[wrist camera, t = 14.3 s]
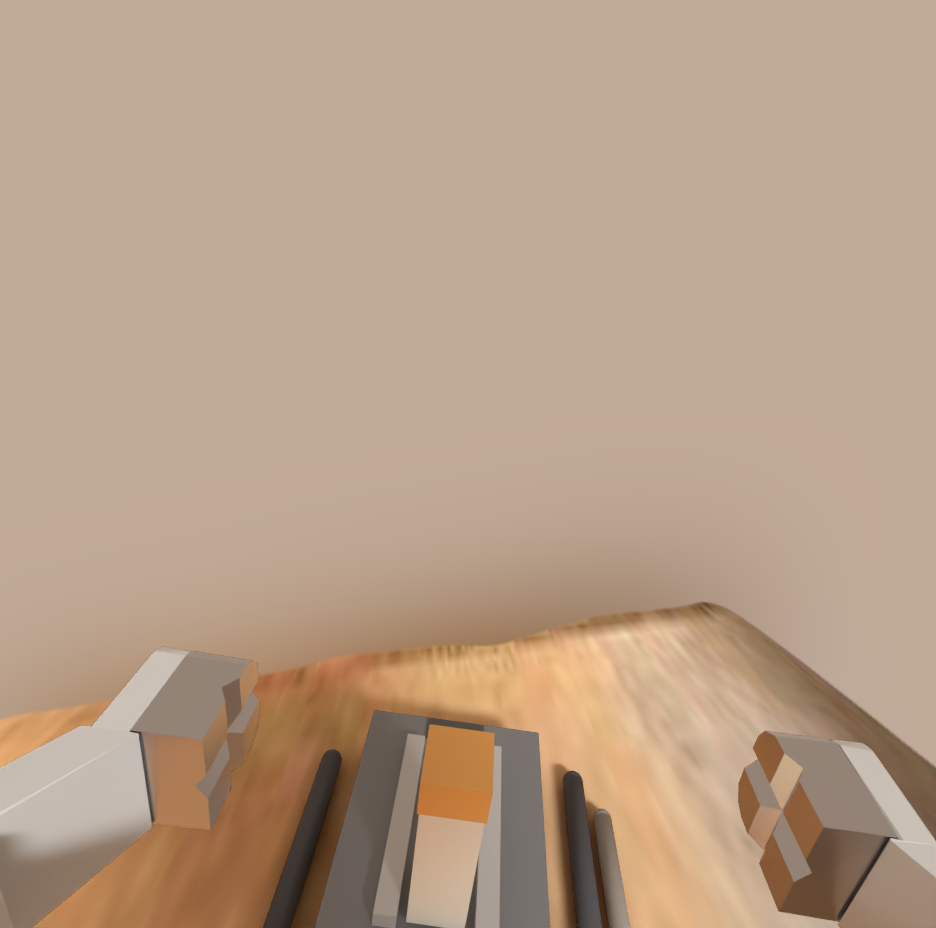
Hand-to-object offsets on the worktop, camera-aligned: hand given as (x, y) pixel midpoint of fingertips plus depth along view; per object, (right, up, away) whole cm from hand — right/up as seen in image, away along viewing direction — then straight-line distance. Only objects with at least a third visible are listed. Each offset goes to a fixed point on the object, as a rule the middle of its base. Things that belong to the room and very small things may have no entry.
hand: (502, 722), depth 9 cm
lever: (-2, -19, +21) cm, 28 cm away
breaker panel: (-2, -21, +26) cm, 34 cm away
